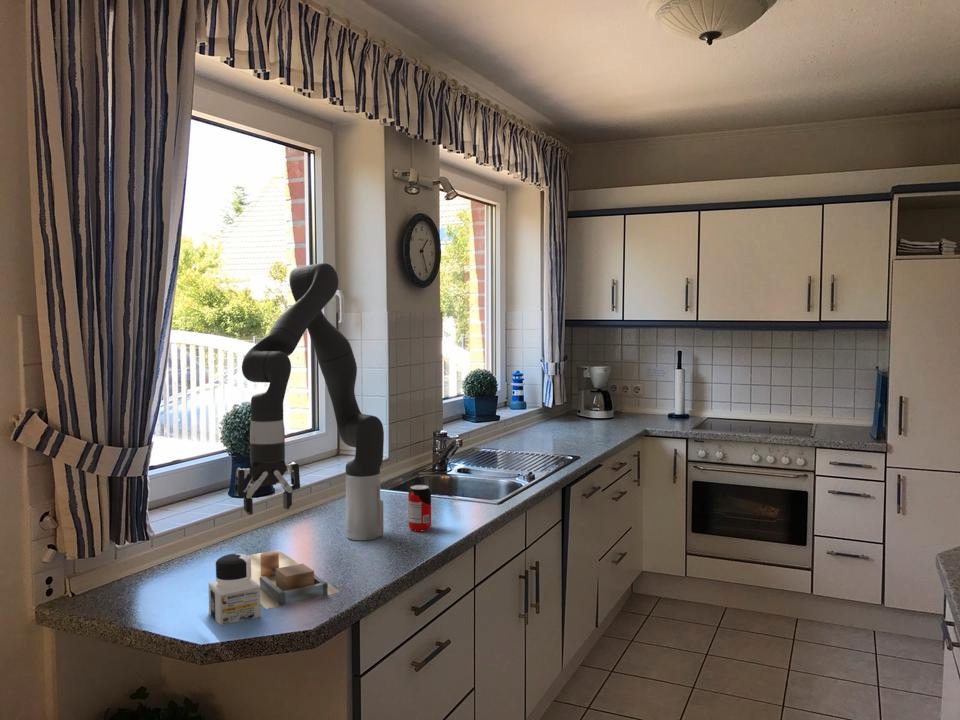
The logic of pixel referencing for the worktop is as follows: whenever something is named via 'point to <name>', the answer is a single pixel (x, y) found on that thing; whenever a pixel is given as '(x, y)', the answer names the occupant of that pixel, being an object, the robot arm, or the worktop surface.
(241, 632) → the worktop surface
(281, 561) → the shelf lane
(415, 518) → the beverage can
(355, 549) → the worktop surface
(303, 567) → the wooden joystick
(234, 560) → the container
